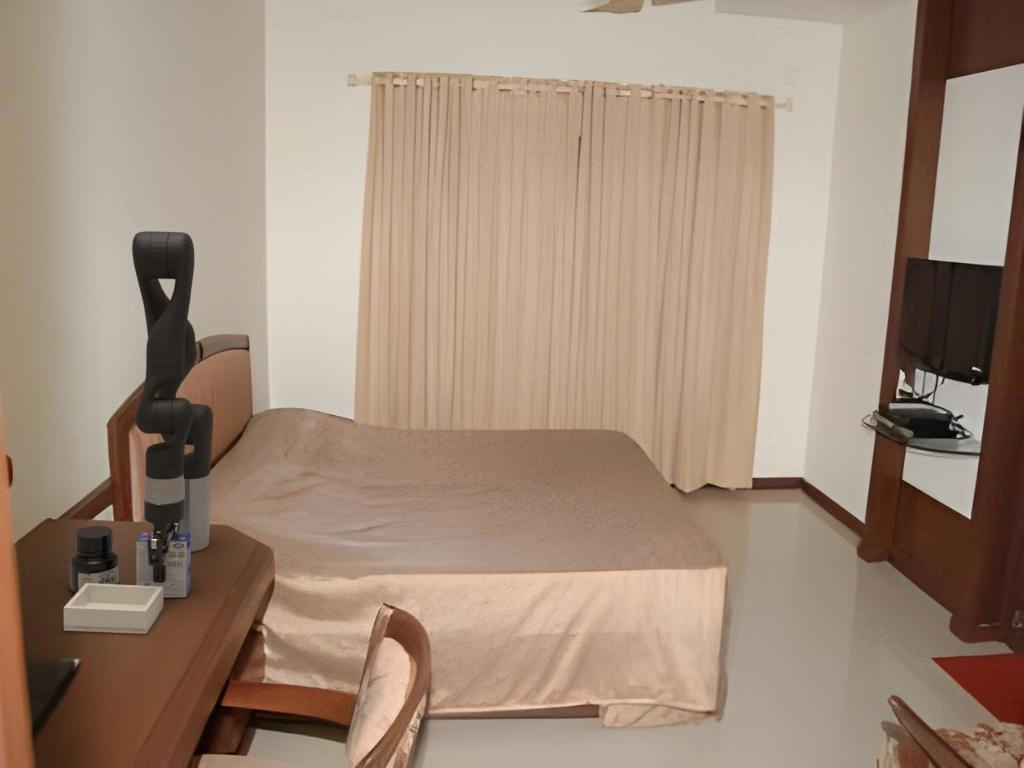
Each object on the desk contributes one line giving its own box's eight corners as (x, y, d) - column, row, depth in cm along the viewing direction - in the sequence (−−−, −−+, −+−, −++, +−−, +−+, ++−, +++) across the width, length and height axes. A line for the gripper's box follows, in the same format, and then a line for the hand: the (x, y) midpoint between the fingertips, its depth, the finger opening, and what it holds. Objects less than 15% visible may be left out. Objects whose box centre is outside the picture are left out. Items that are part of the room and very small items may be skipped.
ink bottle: (82, 602, 179) (81, 544, 177) (59, 587, 184) (58, 531, 182) (129, 587, 187) (128, 532, 184) (106, 574, 192) (105, 520, 189)
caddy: (86, 604, 178) (85, 583, 177) (163, 608, 179) (163, 586, 178) (63, 630, 168) (63, 607, 167) (145, 633, 169) (145, 611, 168)
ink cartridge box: (191, 586, 189) (192, 520, 186) (187, 598, 184) (188, 530, 181) (140, 587, 187) (140, 520, 184) (135, 599, 182) (135, 530, 179)
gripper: (156, 483, 188) (155, 560, 192) (132, 507, 174) (133, 589, 178) (193, 485, 189) (192, 562, 192) (173, 509, 175) (172, 591, 178)
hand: (164, 575), depth 185 cm, fingers closed on ink cartridge box, 5 cm apart
